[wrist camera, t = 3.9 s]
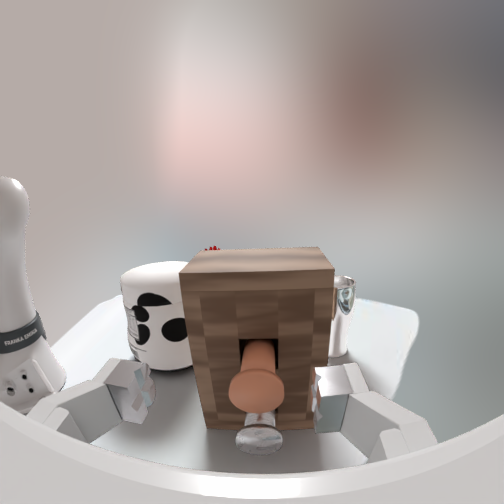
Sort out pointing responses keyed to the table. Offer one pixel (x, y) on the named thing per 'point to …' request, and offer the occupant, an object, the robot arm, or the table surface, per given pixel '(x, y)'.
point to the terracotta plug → (257, 379)
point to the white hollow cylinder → (341, 314)
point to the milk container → (156, 316)
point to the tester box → (257, 324)
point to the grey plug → (259, 434)
